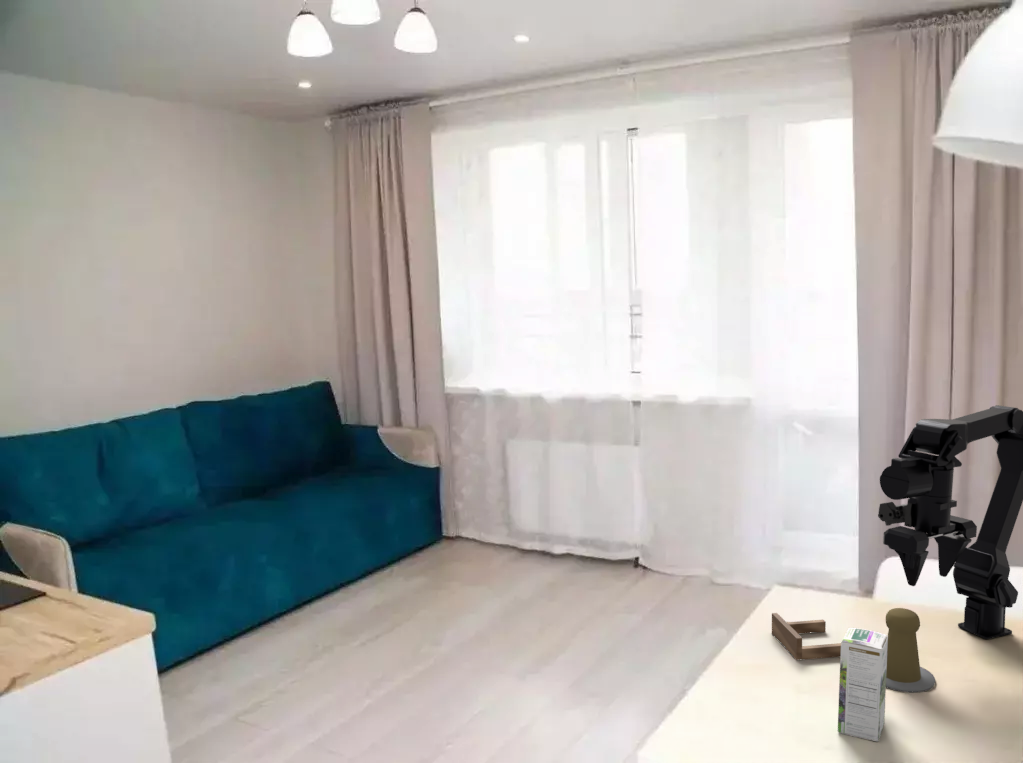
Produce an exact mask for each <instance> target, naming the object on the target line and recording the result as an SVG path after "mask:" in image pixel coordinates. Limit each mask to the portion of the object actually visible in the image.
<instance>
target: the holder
mask: <svg viewBox="0 0 1023 763" xmlns="http://www.w3.org/2000/svg"><path fill="white" fill-rule="evenodd" d="M826 625H827V624H826V620H825V619H813V620H801V621H800V620H799V621H788V622H787V621H786V620H785V619H784V618H783V617H782V616H781V615H780V614H779V613H778V612H772V613H771V635H772V636H773V635H774V636H775V637H776V638H777V639H778V640H779V641H780V642H781V643H782V644H783V645H784V646H785V647H786V648H785V647H784V646H783V645H782V644H781V643H780V642H779V641H778V640H777V639H776V638H775V637H774V636H773V637H774V638H775V639H776V640H777V641H778V642H779V643H780V644H781V645H782V646H783V647H784V648H785V650H786V651H787V650H788V651H789V652H790V653H791V654H792V655H793V656H794V657H793V656H792V655H791V654H790V653H789V652H788V651H787V652H788V653H789V654H790V655H791V656H792V657H793V658H794V659H795V660H796V661H803V659H805V660H816V659H826V658H827V659H828V658H841V642H839V643H827V644H814V645H813V644H811V645H803V637H802V636H801V635H800V634H798V633H804V634H811V633H810V632H817V633H826V631H827V630H826V627H827V626H826ZM800 659H802V660H800Z"/></svg>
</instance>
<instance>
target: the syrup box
mask: <svg viewBox="0 0 1023 763" xmlns="http://www.w3.org/2000/svg"><path fill="white" fill-rule="evenodd" d="M840 643H841V657H839V658H840V660H839V661H840V662H839V686H838V688H839V689H838V711H837V712H838V713H837V733H839V734H843V735H847V736H851V737H855V738H859V739H864V740H868V741H874V742H879V740H880V738H881V734H882V731H883V729H884V724H885V715H886V714H885V712H886V693H887V692H886V691H887V690H886V689H887V688H886V672H887V645H888V634H884V633H881V632H878V631H874V630H870V629H865V628H859V627H858V628H857V627H856V628H855V627H848V629H847V631H846V632H845V634H844V637H843V639H842V640H841V641H840Z"/></svg>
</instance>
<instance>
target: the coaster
mask: <svg viewBox="0 0 1023 763" xmlns="http://www.w3.org/2000/svg"><path fill="white" fill-rule="evenodd" d="M920 672H921V679H920V680H919V681H917V682H913V683H903V682H897V681H893V680H891V679H888V678H887V677H886V689H890V690H894V691H896V692H903V693H922V692H926V691H930V690H932V689H933V688H934V687H935V685H936V677H935V675H934V674H933V673H932V672H931V671H929V670H928V669H926V668H924V667H922V666H920Z"/></svg>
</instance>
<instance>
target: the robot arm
mask: <svg viewBox="0 0 1023 763" xmlns="http://www.w3.org/2000/svg"><path fill="white" fill-rule="evenodd" d="M989 437H992V439H993V440H994V441H995V443H997V449H996V457H997V459H998V464H999V466H1000V469H999V473H998V477H997V479H996V483H995V486H994V489H993V491H992V494H991V497H990V500H989V502H988V505H987V509H986V511H985V514H984V517H983V521H982V523H981V526H980V529H979V532H977V531H978V530H977V529H978V528H977V527H978V526H977V525H976V524H975V522H974V521H973V520H972V519H967V518H963V517H960V516H956V515H952V508H956V507H957V506H958V504H957V503H958V500H956V499H955V500H954V499H952V498H953V488H954V487H953V485H954V472H955V470H954V468H959V467H962V465H963V463H962V462H961V460H959V459H958V458H957V457H956V456H958V455H960V454H961V453H963V452H964V451H966V450H967V448H968V444H970V443H972V442H974V441H978V440H982V439H986V438H989ZM890 463H891V464H890V465H889V466H887V467H885V468H884V469H883V471H882V473H881V475H880V476H879V484H880V488H881V491H882V492H883V493H884V495H885V496H886V497H887V498H888V499H891V500H894V501H898V500H905V499H907V503H902V504H895V503H894V501H889V502H882V503H880V504H879V507H878V514H877V517H878V518H879V520H880V521H881V522H884V524H885V526H888V527H889V526H892V524H893V525H895V524H902V523H904V526H902V525H899V526H894V527H890V528H888V529H887V530H885V531H884V532H883V537H882V538H883V539H882V544H883V545H885V546H887V547H888V548H889V549H890V550H893V551H894V552H895V553H896V554H897V555H898V556H899V560H900V562H901V564H902V568H903V571H904V575H905V578H906V581H907V584H908V585H909V586H911V587H915V586H916V585H917V583H918V580H919V578H920V576H921V573H922V571H923V568H924V566H925V563H926V560H927V558H928V556H929V551H928V550H927V549H928V547H929V545H930V544H929V543H930V539H934V541H935V542H936V544H937V553H938V555H937V556H938V561H937V562H938V574H939V576H941V577H944V578H946V577H947V576H948V575H949V573H950V571H951V570H952V569H953V571H952V575H953V576H952V577H953V580H954V586H955V590H956V593H957V594H958V595H963V596H965V607H964V614H963V615H964V616H963V617H964V618H963V622H959V623H958V624H957V627H958V628H960V629H963V630H965V631H967V632H969V633H971V634H974V635H975V636H976V637H977V636H978V637H980V638H981V639H983V640H989V639H990V640H991V639H995V638H998V637H1004V636H1008V635H1012V634H1013V631H1012V629H1009V628H1008V627H1006V608H1013V607H1014V604H1016V603H1017V599H1018V595H1019V591H1018V590H1017V588H1015V586H1014V585H1013V583H1012V582H1011V581H1010V580H1009V577H1010V576H1009V575H1010V572H1011V567H1010V565H1009V561H1008V556H1007V554H1006V552H1007V549H1008V545H1009V542H1010V540H1011V536H1012V534H1013V531H1014V527H1015V524H1016V521H1017V519H1018V516H1019V513H1020V510H1021V509H1022V508H1021V507H1022V504H1023V410H1022V409H1019V408H1018V407H1014V406H1008V405H1007V406H1006V405H1005V406H1004V405H997V404H996V405H993V406H990V407H989V408H987V409H984V410H980V411H977V412H973V413H971V414H970V413H969V414H967V415H963V416H961V417H959V416H958V417H956V418H953V419H946V418H945V419H944V418H943V419H942V418H923V419H920V420H918V421H917V422H916V423H915V426H914V427H912V430H911V431H910V433H909V435H908V437H907V439H906V440H905V443H904V444H903V446H902V448H901V449H900V452H899V454H898V457H894V458H892V459H891V462H890ZM977 533H978V535H977ZM972 538H973V539H974V538H976V540H975V542H974V543H972V540H973V539H972ZM970 543H972V544H971V545H970V546H969V544H970ZM967 546H969V547H967Z"/></svg>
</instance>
